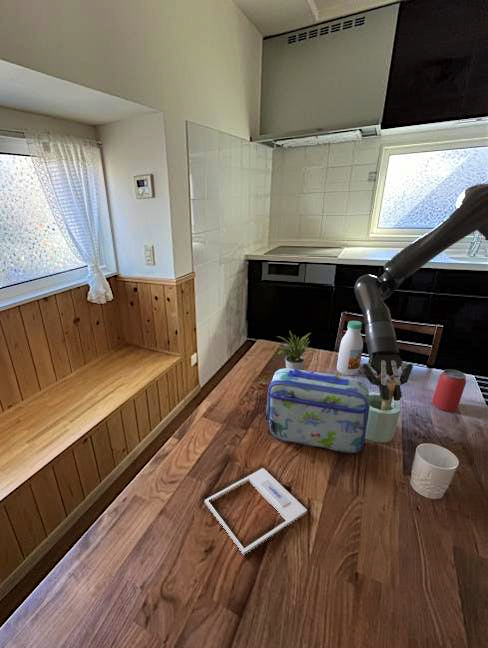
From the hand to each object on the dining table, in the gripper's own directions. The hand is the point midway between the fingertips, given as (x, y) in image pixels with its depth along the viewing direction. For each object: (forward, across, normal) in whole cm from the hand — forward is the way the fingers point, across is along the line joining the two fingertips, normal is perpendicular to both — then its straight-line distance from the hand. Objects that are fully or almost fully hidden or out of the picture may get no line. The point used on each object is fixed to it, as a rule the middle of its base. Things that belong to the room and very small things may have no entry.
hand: (391, 399), depth 90 cm
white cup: (+21, +3, -3) cm, 22 cm away
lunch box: (+10, -20, +8) cm, 24 cm away
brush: (+6, 0, +9) cm, 11 cm away
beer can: (-1, +24, +20) cm, 32 cm away
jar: (+7, -1, +11) cm, 13 cm away
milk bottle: (-17, +2, +35) cm, 39 cm away
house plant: (-17, -18, +35) cm, 43 cm away
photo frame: (+27, -38, -9) cm, 48 cm away
